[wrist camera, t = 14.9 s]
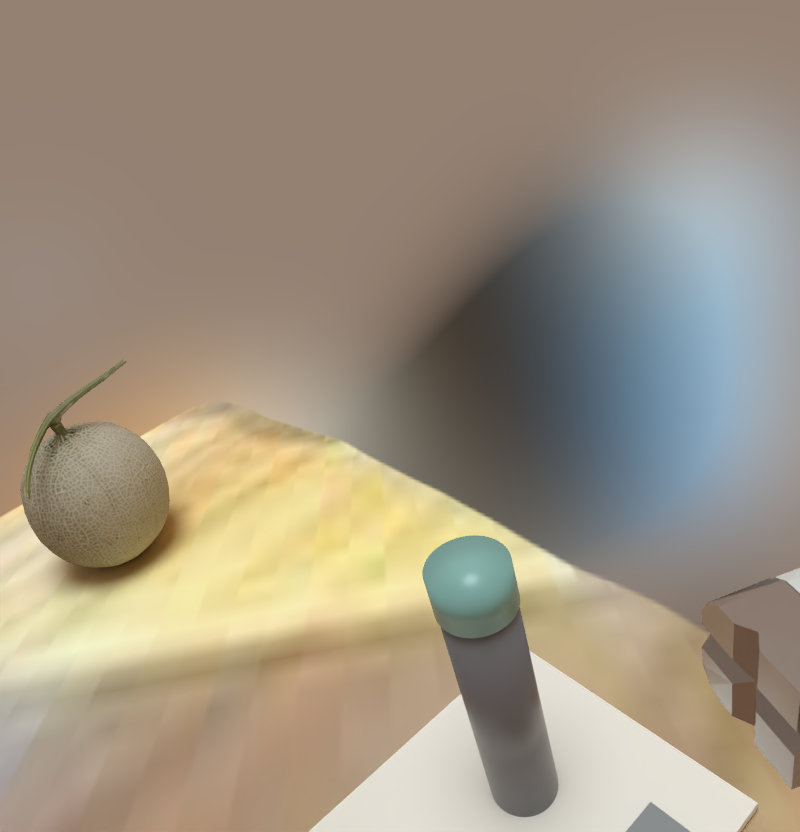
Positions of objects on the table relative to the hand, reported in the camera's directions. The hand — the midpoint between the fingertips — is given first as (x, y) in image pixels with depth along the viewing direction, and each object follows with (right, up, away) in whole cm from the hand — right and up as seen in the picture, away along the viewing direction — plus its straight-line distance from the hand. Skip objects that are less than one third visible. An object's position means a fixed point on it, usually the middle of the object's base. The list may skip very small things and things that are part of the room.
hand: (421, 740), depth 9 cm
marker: (+6, -13, +25) cm, 29 cm away
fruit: (-23, -7, +50) cm, 56 cm away
